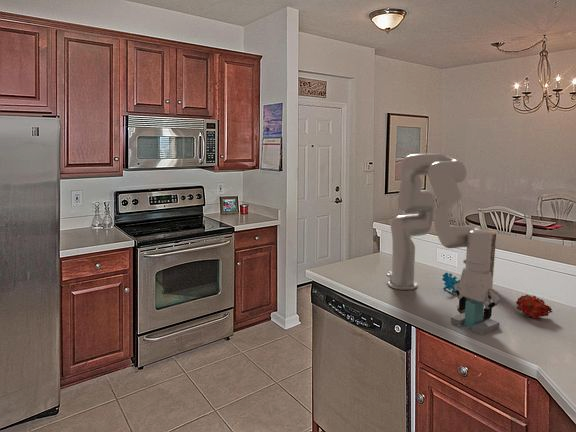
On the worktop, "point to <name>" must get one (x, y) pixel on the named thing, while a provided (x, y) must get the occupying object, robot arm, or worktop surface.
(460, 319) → the notched board
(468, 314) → the teal tab
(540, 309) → the dragon fruit
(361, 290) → the worktop surface
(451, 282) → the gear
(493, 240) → the paper tube
